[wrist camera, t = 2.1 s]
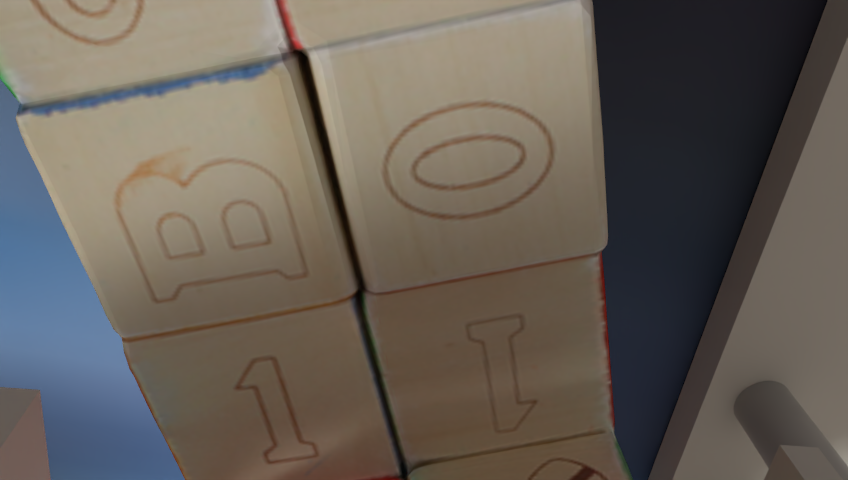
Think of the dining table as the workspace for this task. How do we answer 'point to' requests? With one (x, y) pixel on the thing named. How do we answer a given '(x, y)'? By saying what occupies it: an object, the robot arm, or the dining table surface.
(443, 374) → the stack of blocks
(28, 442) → the robot arm
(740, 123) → the dining table surface
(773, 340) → the rack with pegs
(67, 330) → the dining table surface
